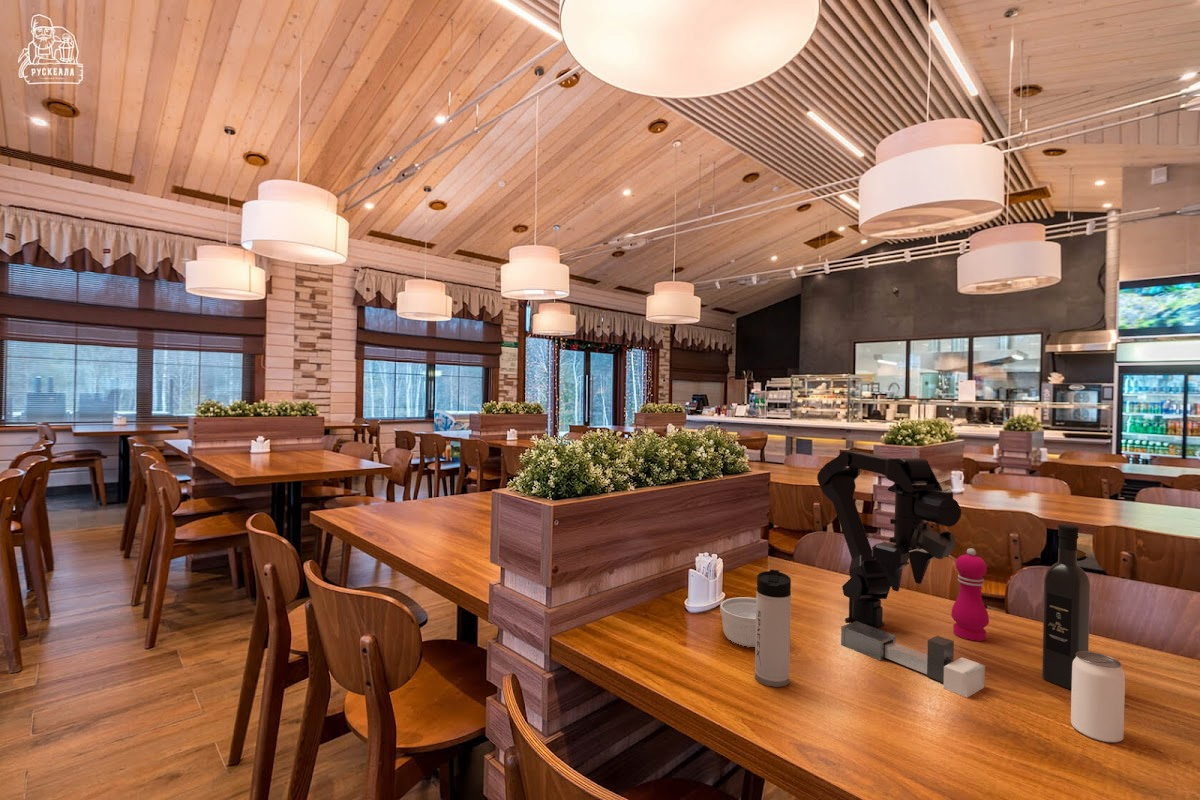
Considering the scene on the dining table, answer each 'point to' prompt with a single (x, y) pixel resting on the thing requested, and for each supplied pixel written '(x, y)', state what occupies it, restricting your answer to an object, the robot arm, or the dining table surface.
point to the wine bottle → (1065, 611)
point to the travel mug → (773, 628)
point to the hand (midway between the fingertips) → (907, 587)
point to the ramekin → (739, 620)
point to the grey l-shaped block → (923, 656)
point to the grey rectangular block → (964, 677)
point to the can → (1098, 697)
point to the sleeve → (865, 639)
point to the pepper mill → (970, 598)
